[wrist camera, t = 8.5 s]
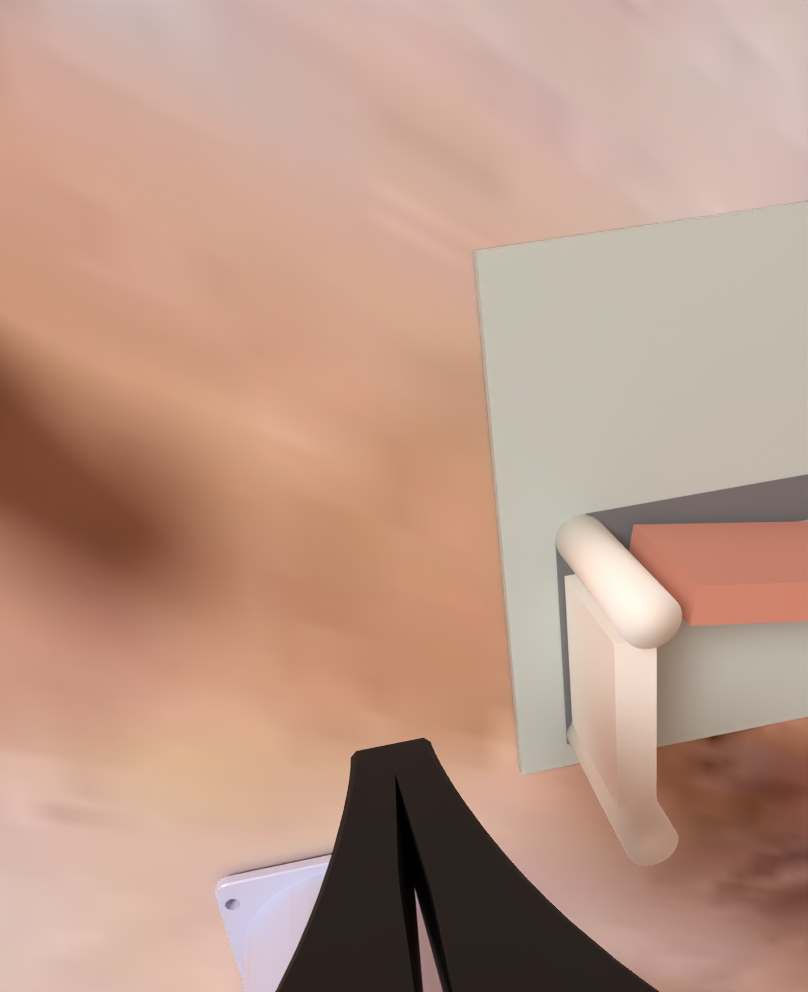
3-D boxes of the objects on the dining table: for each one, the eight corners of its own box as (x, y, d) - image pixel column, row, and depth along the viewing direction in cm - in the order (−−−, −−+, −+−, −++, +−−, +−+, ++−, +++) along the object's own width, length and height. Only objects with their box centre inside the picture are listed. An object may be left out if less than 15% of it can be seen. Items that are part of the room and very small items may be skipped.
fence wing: (626, 565, 24) (703, 649, 19) (634, 518, 23) (715, 593, 18) (849, 559, 25) (971, 637, 20) (862, 514, 24) (991, 584, 20)
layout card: (903, 689, 28) (912, 696, 28) (519, 767, 27) (522, 775, 27) (983, 175, 21) (996, 174, 21) (473, 250, 20) (477, 251, 20)
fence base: (606, 736, 27) (678, 859, 22) (563, 745, 27) (626, 871, 22) (599, 505, 24) (682, 588, 18) (549, 514, 23) (620, 600, 18)
